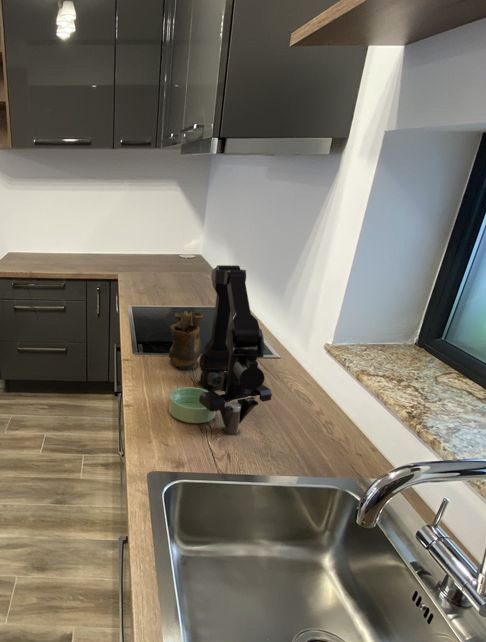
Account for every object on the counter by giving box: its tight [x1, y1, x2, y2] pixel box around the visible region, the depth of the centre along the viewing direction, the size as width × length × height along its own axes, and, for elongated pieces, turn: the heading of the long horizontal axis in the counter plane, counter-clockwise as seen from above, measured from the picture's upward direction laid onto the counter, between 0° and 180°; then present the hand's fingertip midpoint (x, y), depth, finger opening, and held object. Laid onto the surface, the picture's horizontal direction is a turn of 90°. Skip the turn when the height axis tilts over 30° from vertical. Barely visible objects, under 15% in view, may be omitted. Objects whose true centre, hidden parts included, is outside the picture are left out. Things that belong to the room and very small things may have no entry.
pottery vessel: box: [168, 310, 204, 371], centre depth 156 cm, size 25×11×20 cm, turn 164°
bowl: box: [168, 386, 217, 424], centre depth 127 cm, size 13×13×5 cm
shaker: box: [223, 401, 241, 436], centre depth 118 cm, size 4×4×8 cm
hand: (231, 424), depth 119 cm, fingers closed on shaker, 3 cm apart
